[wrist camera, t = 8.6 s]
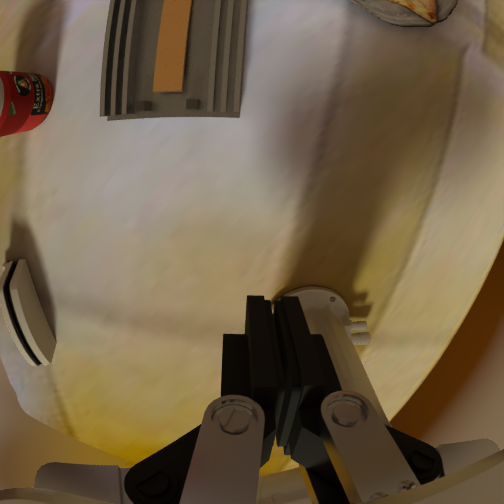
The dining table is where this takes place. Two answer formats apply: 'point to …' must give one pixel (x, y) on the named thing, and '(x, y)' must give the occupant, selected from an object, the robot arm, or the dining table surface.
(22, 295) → the white curved block
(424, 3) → the food plate
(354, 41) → the dining table surface
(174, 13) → the orange brown flat bar
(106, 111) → the heatsink
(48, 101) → the canned food
